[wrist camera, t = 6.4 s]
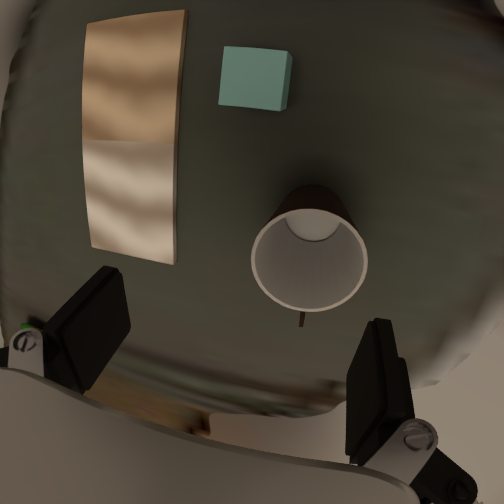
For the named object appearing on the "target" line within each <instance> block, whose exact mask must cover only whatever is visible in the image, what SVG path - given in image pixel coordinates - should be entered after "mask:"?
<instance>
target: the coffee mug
mask: <svg viewBox="0 0 504 504" xmlns="http://www.w3.org/2000/svg"><path fill="white" fill-rule="evenodd" d="M367 264H368V258H367V250H366V248H365V245H364V242H363V240H362V238H361V236H360V234H359V232H358V230H357V229H356V227H355V225H354V223H353V221H352V220H351V218H350V216H349V214H348V212H347V211H346V209H345V207H344V205H343V204H342V202H341V200H340V199H339V197H338V196H337V195H336V194H335V193H334V192H333V191H331V190H330V189H328V188H326V187H323V186H319V185H306V186H302V187H299V188H297V189H296V190H294V191H293V192H291V193H290V194H289V195H288V197H287V198H286V199H285V200H284V202H283V203H282V204H281V205H280V207H279V208H278V209H277V211H276V212H275V213H274V214H273V216H272V217H271V218H270V219H269V221H268V222H267V223H266V225H265V226H264V227H263V228H262V230H261V231H260V233H259V234H258V236H257V237H256V239H255V242H254V245H253V247H252V253H251V265H252V271H253V274H254V277H255V279H256V281H257V283H258V284H259V286H260V287H261V289H262V290H263V291H264V292H265V293H266V294H267V295H268V296H269V297H270V298H271V299H273V300H274V301H276V302H277V303H279V304H281V305H283V306H285V307H288V308H290V309H293V310H298V311H301V313H300V322H299V327H303V323H304V318H305V312H316V311H324V310H327V309H331V308H334V307H336V306H338V305H340V304H342V303H344V302H345V301H347V300H348V299H349V298H351V297H352V296H353V295H354V294H355V292H356V291H357V290H358V289H359V287H360V286H361V284H362V282H363V281H364V278H365V275H366V272H367Z"/></svg>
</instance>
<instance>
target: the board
mask: <svg viewBox="0 0 504 504" xmlns="http://www.w3.org/2000/svg"><path fill="white" fill-rule="evenodd" d="M187 20H188V11H186V10H174V11H164V12H154V13H146V14H139V15H132V16H125V17H120V18H114V19H109V20H103V21H99V22H94V23H89V24H87V31H86V41H85V52H84V67H83V88H82V143H83V165H84V180H85V192H86V203H87V213H88V221H89V229H90V237H91V244H92V247H94V248H99V249H103V250H108V251H112V252H117V253H121V254H126V255H130V256H135V257H139V258H144V259H148V260H153V261H158V262H162V263H167V264H172V265H174V264H175V262H176V261H177V239H176V199H177V155H178V130H179V112H180V96H181V82H182V70H183V59H184V48H185V38H186V29H187Z"/></svg>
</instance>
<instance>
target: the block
mask: <svg viewBox="0 0 504 504" xmlns="http://www.w3.org/2000/svg"><path fill="white" fill-rule="evenodd" d="M292 59H293V58H292V57H291V55H290V54H289V53H288V51H281V50H272V49H260V48H247V47H226V46H224V54H223V63H222V73H221V83H220V93H219V104H218V105H229V106H240V107H249V108H258V109H267V110H274V111H282V110H284V109H286V107H287V99H288V91H289V83H290V75H291V67H292Z"/></svg>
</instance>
